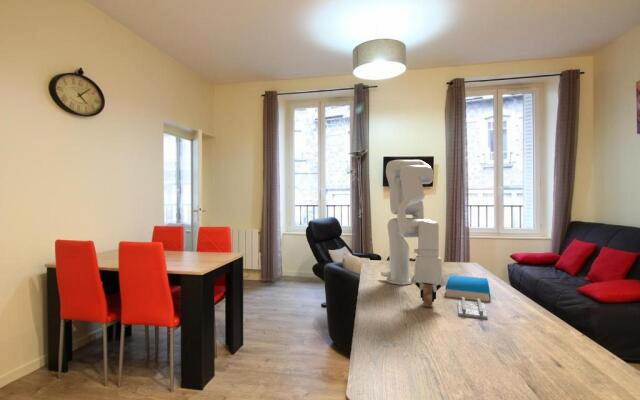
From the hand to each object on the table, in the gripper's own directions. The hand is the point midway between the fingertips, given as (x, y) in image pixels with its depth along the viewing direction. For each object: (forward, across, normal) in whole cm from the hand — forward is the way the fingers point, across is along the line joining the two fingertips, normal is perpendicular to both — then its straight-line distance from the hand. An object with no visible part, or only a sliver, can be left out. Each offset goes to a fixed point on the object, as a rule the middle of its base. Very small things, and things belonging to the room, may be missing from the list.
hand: (428, 299), depth 123 cm
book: (+3, +15, +26) cm, 31 cm away
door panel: (+1, 0, 0) cm, 1 cm away
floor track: (+2, +15, 0) cm, 15 cm away
